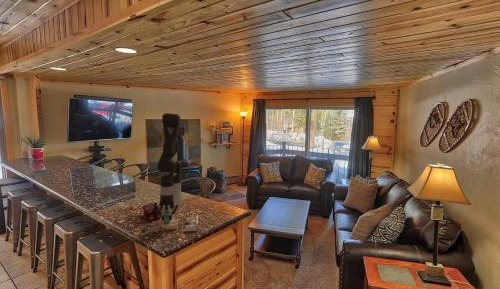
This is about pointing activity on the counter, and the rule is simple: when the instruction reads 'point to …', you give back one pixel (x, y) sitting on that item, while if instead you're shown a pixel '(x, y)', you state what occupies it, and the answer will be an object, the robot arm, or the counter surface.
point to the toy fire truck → (151, 212)
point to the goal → (192, 227)
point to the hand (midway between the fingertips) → (166, 220)
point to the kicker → (169, 222)
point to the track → (155, 225)
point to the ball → (192, 222)
